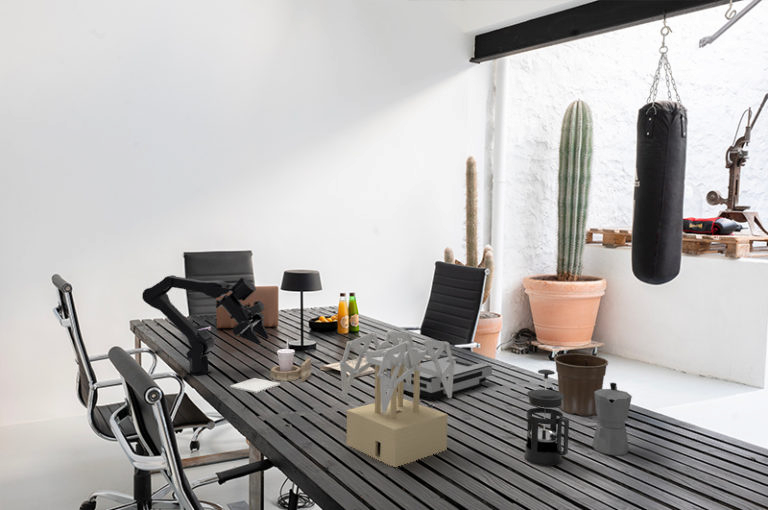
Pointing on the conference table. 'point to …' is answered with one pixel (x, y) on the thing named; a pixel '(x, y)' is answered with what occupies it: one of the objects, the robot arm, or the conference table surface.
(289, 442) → the conference table surface
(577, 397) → the plant pot
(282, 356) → the smoothie
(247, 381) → the coaster
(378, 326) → the conference table surface
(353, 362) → the newspaper
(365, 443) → the kinetic sculpture
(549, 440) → the french press
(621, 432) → the coffeepot
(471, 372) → the game console
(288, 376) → the segmented octagon frame
